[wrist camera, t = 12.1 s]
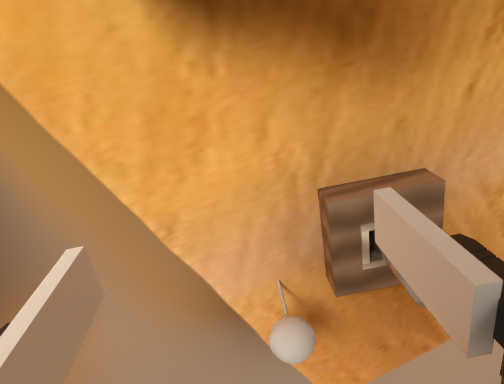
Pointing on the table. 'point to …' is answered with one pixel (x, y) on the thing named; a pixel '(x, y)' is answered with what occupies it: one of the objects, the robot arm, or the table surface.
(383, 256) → the pin
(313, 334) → the lollipop
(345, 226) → the bore block
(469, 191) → the table surface
